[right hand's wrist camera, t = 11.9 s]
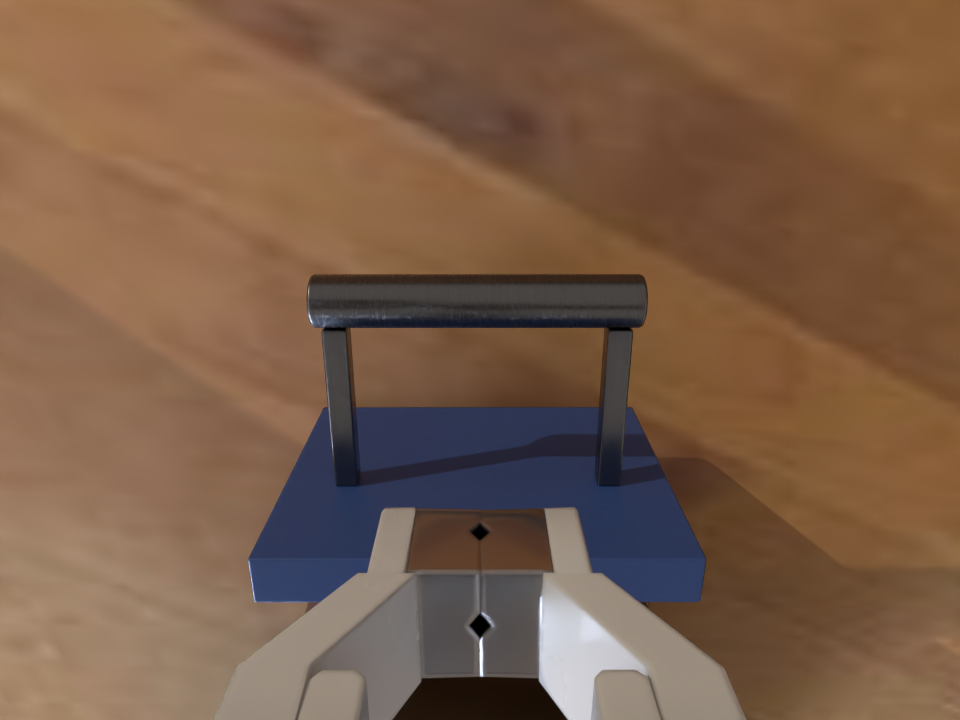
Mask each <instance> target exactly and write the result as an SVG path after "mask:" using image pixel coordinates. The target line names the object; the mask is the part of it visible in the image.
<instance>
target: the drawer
mask: <svg viewBox="0 0 960 720" xmlns="http://www.w3.org/2000/svg"><path fill="white" fill-rule="evenodd" d="M647 307H648V291H647V284H646V281H645V278H644V276H642V275H640V274H315V275H312V276H311V277H310V280H309V283H308V287H307V311H308V317H309V320H310V323H311V325H312V326H313V327H315V328H324V329H323V330H322V332H321V333H322V344H323V355H324V367H325V378H326V389H327V400H328V408H323V410H322V412H321V414H320V416H319V418H318V420H317V422H316V424H315V426H314V428H313V430H312V432H311V434H310V436H309V438H308V440H307V442H306V444H305V446H304V448H303V450H302V452H301V454H300V456H299V458H298V460H297V462H296V464H295V466H294V468H293V470H292V472H291V474H290V476H289V478H288V480H287V482H286V484H285V486H284V488H283V490H282V492H281V494H280V496H279V498H278V500H277V502H276V504H275V506H274V508H273V511H272V513H271V515H270V517H269V519H268V521H267V523H266V525H265V527H264V529H263V531H262V533H261V535H260V537H259V539H258V541H257V543H256V545H255V547H254V549H253V551H252V553H251V555H250V557H249V559H248V562H249V569H250V576H251V583H252V589H253V596H254V601H255V602H309V603H308V606H307V609H306V612H305V613H307V612H308V611H309V610H311V609H312V608H313V607H314V606H316V605H317V604H318V603H320V602H321V601H322V600H324V599H325V598H326V597H327V596H329V595H330V594H331V593H333V592H334V591H335V590H336V589H338V588H339V587H340V586H342V585H343V584H344V583H345V582H347V581H348V580H349V579H351V578H352V577H353V576H355V575H356V574H357V573H367V571H368V567H369V563H370V559H371V555H372V550H373V546H374V542H375V538H376V534H377V529H378V525H379V521H380V517H381V513H382V511H383V510H384V509H385V508H399V507H415V508H416V509H417V508H459V509H480V510H499V509H543V508H561V507H575V508H576V509H577V510H578V513H579V518H580V522H581V526H582V530H583V534H584V538H585V542H586V547H587V551H588V555H589V559H590V563H591V567H592V571H593V573H603V574H604V575H605V576H607V577H608V578H609V579H611V580H612V581H613V582H614V583H616V584H617V585H618V586H620V587H621V588H622V589H623V590H625V591H626V592H627V593H629V594H630V595H631V596H632V597H634V598H635V599H636V600H638V601H639V602H640V603H641V604H643V605H644V606H645V607H647V608H648V605H647V602H699V601H700V600H701V593H702V586H703V579H704V572H705V565H706V557H705V555H704V553H703V551H702V549H701V547H700V545H699V543H698V541H697V539H696V537H695V535H694V533H693V531H692V529H691V527H690V525H689V523H688V521H687V519H686V517H685V515H684V513H683V511H682V508H681V506H680V504H679V502H678V500H677V498H676V496H675V494H674V492H673V490H672V488H671V486H670V484H669V482H668V480H667V478H666V476H665V474H664V472H663V470H662V468H661V466H660V464H659V462H658V460H657V458H656V456H655V453H654V451H653V449H652V447H651V445H650V443H649V441H648V439H647V437H646V435H645V433H644V431H643V429H642V427H641V425H640V423H639V421H638V419H637V417H636V415H635V413H634V411H633V409H632V408H631V407H627V399H628V388H629V376H630V364H631V353H632V341H633V330H632V329H631V328H640V327H642V326H643V324H644V322H645V319H646V315H647ZM350 328H605V329H604V344H603V358H602V372H601V387H600V401H599V407H370V408H356V401H355V387H354V373H353V359H352V346H351V332H350ZM648 609H649V608H648ZM393 720H568V719H567V718H566V716H565V715H564V714H563V712H562V711H561V710H560V708H559V707H558V706H557V704H556V703H555V702H554V700H553V699H552V698H551V696H550V695H549V694H548V693H547V691H546V690H545V689H544V687H543V686H542V685H541V683H540V682H539V678H511V677H448V678H421V683H420V684H419V685H418V687H417V688H416V689H415V691H414V692H413V693H412V694H411V696H410V697H409V698H408V700H407V701H406V702H405V704H404V705H403V706H402V708H401V709H400V710H399V712H398V713H397V714H396V716H395V717H394V718H393Z"/></svg>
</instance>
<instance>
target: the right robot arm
mask: <svg viewBox="0 0 960 720" xmlns="http://www.w3.org/2000/svg"><path fill="white" fill-rule="evenodd" d="M448 677H511V678H539V682H540V683H541V685H542V686H543V687H544V689H545V690H546V691H547V693H548V694H549V695H550V696H551V698H552V699H553V700H554V702H555V703H556V704H557V706H558V707H559V708H560V710H561V711H562V712H563V714H564V715H565V716H566V718H567V719H568V720H746V718H745V715H744V713H743V711H742V708H741V706H740V704H739V701H738V699H737V697H736V694H735V692H734V690H733V687H732V685H731V683H730V680H729V678H728V676H727V673H726V671H725V669H724V667H722V666H721V665H720V664H719V663H717V662H716V661H715V660H713V659H712V658H711V657H710V656H708V655H707V654H706V653H704V652H703V651H702V650H701V649H699V648H698V647H697V646H695V645H694V644H693V643H692V642H690V641H689V640H688V639H686V638H685V637H684V636H683V635H681V634H680V633H679V632H677V631H676V630H675V629H674V628H672V627H671V626H670V625H668V624H667V623H666V622H665V621H663V620H662V619H661V618H659V617H658V616H657V615H656V614H654V613H653V612H652V611H650V610H649V609H648V608H647V607H645V606H644V605H643V604H641V603H640V602H639V601H638V600H636V599H635V598H634V597H632V596H631V595H630V594H629V593H627V592H626V591H625V590H623V589H622V588H621V587H620V586H618V585H617V584H616V583H614V582H613V581H612V580H611V579H609V578H608V577H607V576H605V575H604V574H603V573H593V571H592V567H591V563H590V559H589V555H588V551H587V547H586V542H585V538H584V534H583V530H582V526H581V522H580V518H579V513H578V510H577V509H576V508H575V507H561V508H543V509H499V510H480V509H459V508H417V509H416V508H415V507H399V508H385V509H384V510H383V511H382V513H381V517H380V521H379V525H378V529H377V534H376V538H375V542H374V546H373V550H372V555H371V559H370V563H369V567H368V571H367V573H357V574H356V575H355V576H353V577H352V578H351V579H349V580H348V581H347V582H345V583H344V584H343V585H342V586H340V587H339V588H338V589H336V590H335V591H334V592H333V593H331V594H330V595H329V596H327V597H326V598H325V599H324V600H322V601H321V602H320V603H318V604H317V605H316V606H314V607H313V608H312V609H311V610H309V611H308V612H307V613H305V614H304V615H303V616H302V617H300V618H299V619H298V620H296V621H295V622H294V623H293V624H291V625H290V626H289V627H287V628H286V629H285V630H283V631H282V632H281V633H280V634H278V635H277V636H276V637H274V638H273V639H272V640H271V641H269V642H268V643H267V644H265V645H264V646H263V647H262V648H260V649H259V650H258V651H256V652H255V653H254V654H252V655H251V656H250V657H249V658H247V659H246V660H245V661H243V662H242V663H241V664H240V665H238V666H237V667H236V669H235V672H234V674H233V676H232V679H231V681H230V683H229V686H228V688H227V690H226V692H225V695H224V697H223V699H222V702H221V704H220V706H219V709H218V711H217V713H216V716H215V718H214V720H393V718H394V717H395V716H396V714H397V713H398V712H399V710H400V709H401V708H402V706H403V705H404V704H405V702H406V701H407V700H408V698H409V697H410V696H411V694H412V693H413V692H414V691H415V689H416V688H417V687H418V685H419V684H420V683H421V678H448Z"/></svg>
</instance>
